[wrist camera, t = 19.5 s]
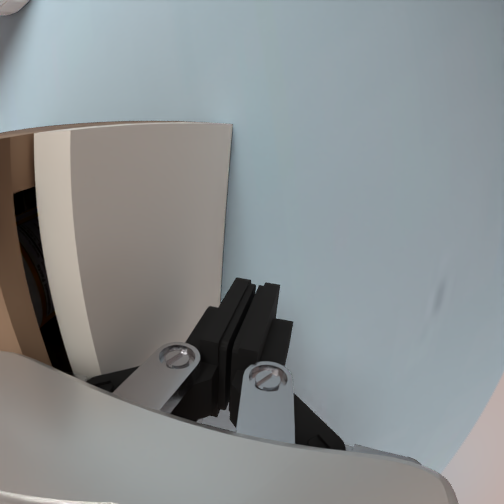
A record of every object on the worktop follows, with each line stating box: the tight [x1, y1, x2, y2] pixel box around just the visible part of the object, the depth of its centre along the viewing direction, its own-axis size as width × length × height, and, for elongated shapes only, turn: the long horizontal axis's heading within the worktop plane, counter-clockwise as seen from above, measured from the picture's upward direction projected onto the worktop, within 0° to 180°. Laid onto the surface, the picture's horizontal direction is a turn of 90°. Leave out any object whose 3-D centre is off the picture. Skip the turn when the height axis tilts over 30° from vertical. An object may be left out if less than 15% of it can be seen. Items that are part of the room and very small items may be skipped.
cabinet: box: [0, 121, 208, 373], centre depth 14 cm, size 14×14×13 cm
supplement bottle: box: [15, 207, 56, 329], centre depth 14 cm, size 6×6×10 cm
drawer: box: [19, 122, 233, 380], centre depth 14 cm, size 14×14×11 cm
